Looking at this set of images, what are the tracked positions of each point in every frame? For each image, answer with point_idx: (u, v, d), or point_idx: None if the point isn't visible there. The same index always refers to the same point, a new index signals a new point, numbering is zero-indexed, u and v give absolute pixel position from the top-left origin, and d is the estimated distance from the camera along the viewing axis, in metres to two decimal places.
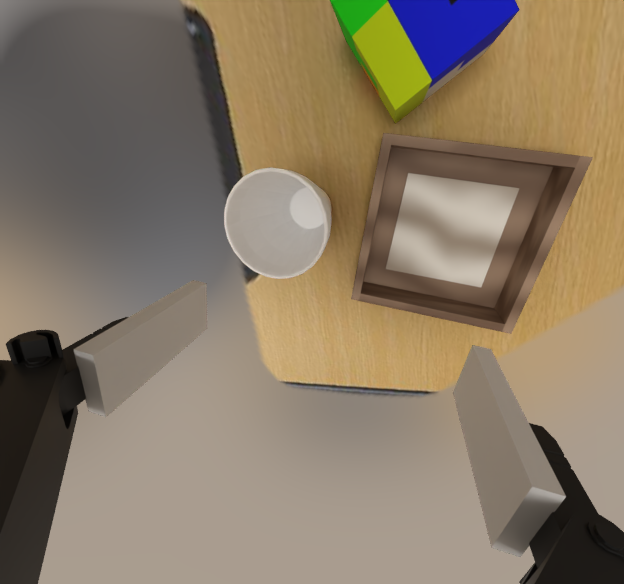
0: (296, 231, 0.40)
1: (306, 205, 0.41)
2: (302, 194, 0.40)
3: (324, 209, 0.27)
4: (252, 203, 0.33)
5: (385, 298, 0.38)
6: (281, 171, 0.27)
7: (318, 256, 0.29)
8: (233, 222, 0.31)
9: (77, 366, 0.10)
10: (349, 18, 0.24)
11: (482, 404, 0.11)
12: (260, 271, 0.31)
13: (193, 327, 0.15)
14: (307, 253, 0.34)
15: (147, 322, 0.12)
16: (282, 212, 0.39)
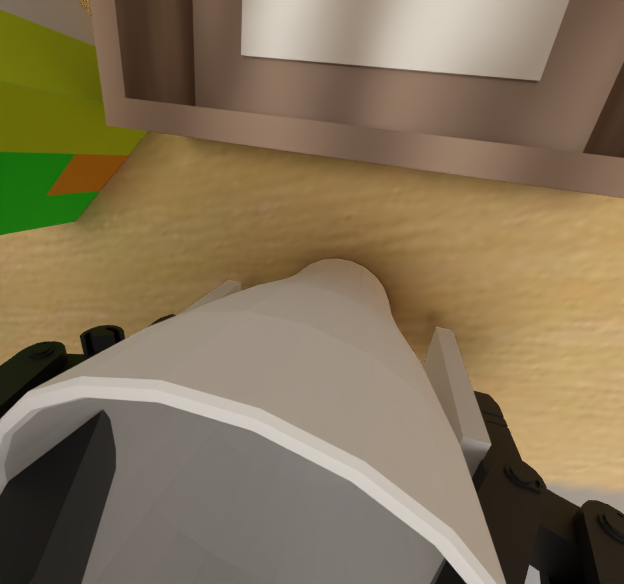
0: None
1: None
2: None
3: (71, 380, 0.04)
4: (251, 498, 0.12)
5: None
6: None
7: (366, 484, 0.04)
8: None
9: None
10: None
11: (438, 376, 0.12)
12: None
13: None
14: None
15: None
16: None
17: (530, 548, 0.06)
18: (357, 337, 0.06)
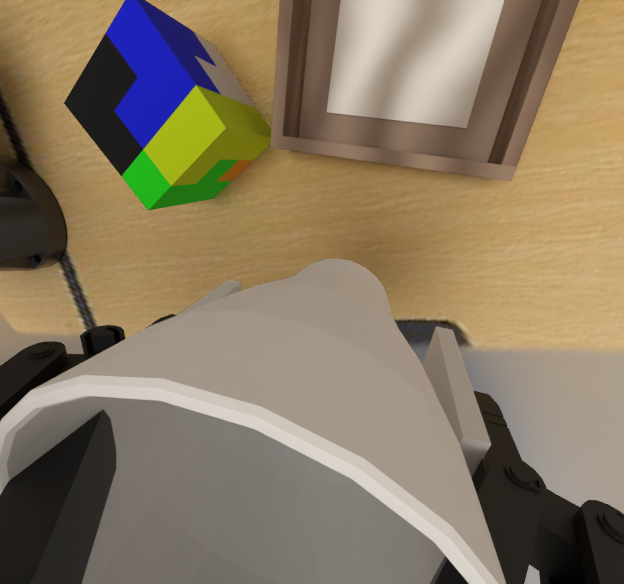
0: None
1: None
2: None
3: (74, 379, 0.05)
4: (252, 497, 0.12)
5: (519, 114, 0.21)
6: None
7: (366, 481, 0.04)
8: None
9: None
10: (159, 188, 0.25)
11: (438, 376, 0.12)
12: None
13: None
14: None
15: None
16: None
17: (530, 548, 0.06)
18: (357, 336, 0.06)
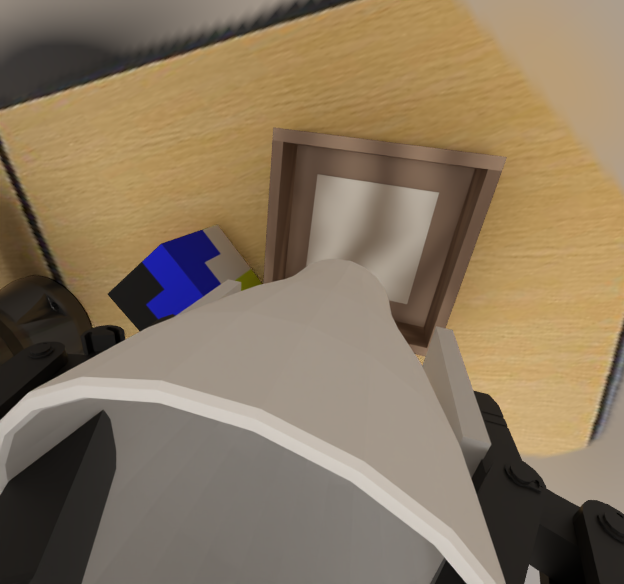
0: None
1: None
2: None
3: (72, 381, 0.04)
4: (252, 498, 0.12)
5: (436, 320, 0.30)
6: None
7: (366, 484, 0.04)
8: None
9: None
10: None
11: (437, 376, 0.12)
12: None
13: None
14: None
15: None
16: None
17: (530, 548, 0.06)
18: (358, 337, 0.06)
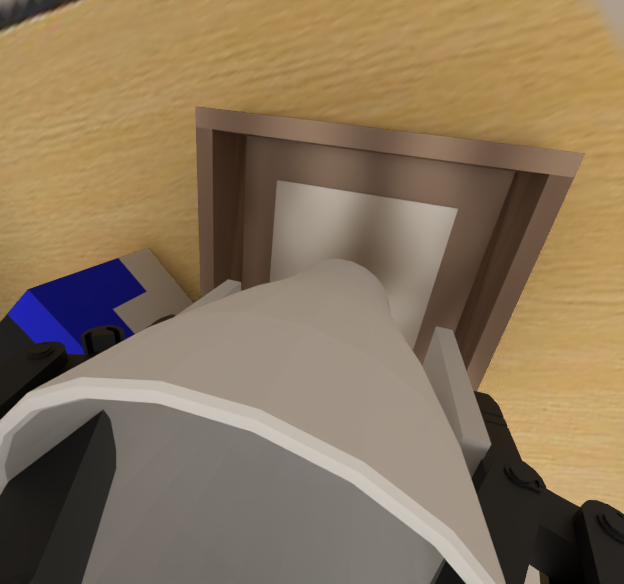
0: None
1: None
2: None
3: (71, 381, 0.04)
4: (251, 498, 0.12)
5: None
6: None
7: (365, 484, 0.04)
8: None
9: None
10: None
11: (438, 376, 0.12)
12: None
13: None
14: None
15: None
16: None
17: (530, 548, 0.06)
18: (357, 337, 0.06)
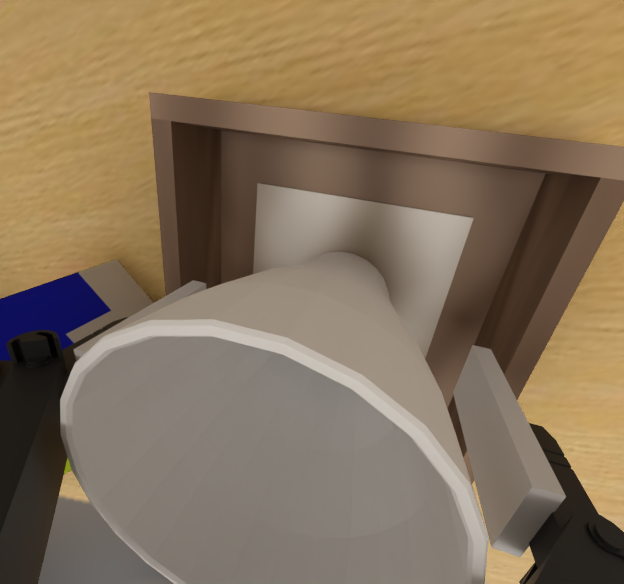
0: None
1: None
2: None
3: (140, 325, 0.06)
4: (263, 462, 0.13)
5: None
6: (67, 442, 0.08)
7: (363, 390, 0.05)
8: (268, 573, 0.10)
9: None
10: None
11: (481, 404, 0.11)
12: None
13: None
14: None
15: None
16: None
17: None
18: (358, 304, 0.08)
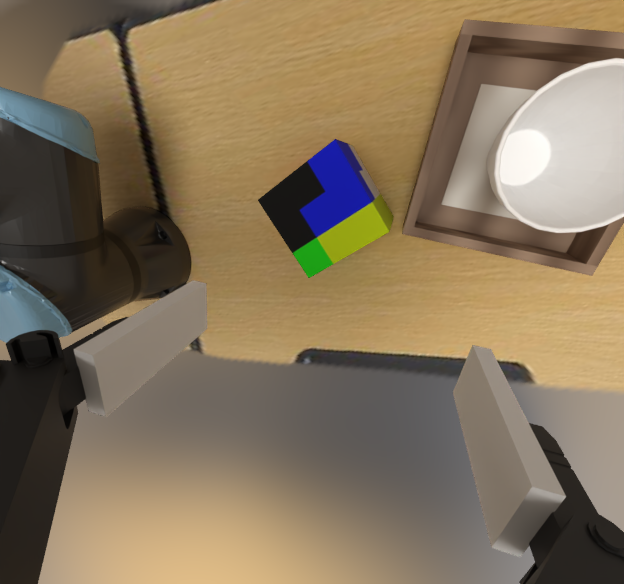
0: (553, 172, 0.30)
1: (513, 162, 0.32)
2: None
3: (580, 67, 0.19)
4: (517, 207, 0.26)
5: (604, 232, 0.29)
6: (506, 135, 0.21)
7: None
8: (551, 224, 0.23)
9: (77, 366, 0.10)
10: (322, 264, 0.33)
11: (481, 404, 0.11)
12: None
13: (193, 327, 0.15)
14: (620, 129, 0.23)
15: (147, 322, 0.12)
16: (521, 189, 0.31)
17: None
18: (623, 85, 0.21)
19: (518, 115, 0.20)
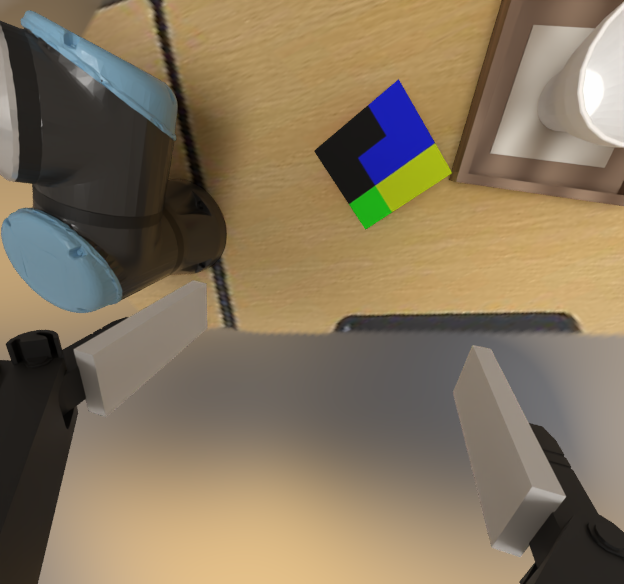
0: (610, 107, 0.30)
1: None
2: None
3: None
4: None
5: None
6: (592, 50, 0.21)
7: None
8: None
9: (77, 366, 0.10)
10: (380, 214, 0.33)
11: (482, 404, 0.11)
12: None
13: (193, 327, 0.15)
14: None
15: (147, 322, 0.12)
16: None
17: None
18: None
19: (606, 27, 0.21)
